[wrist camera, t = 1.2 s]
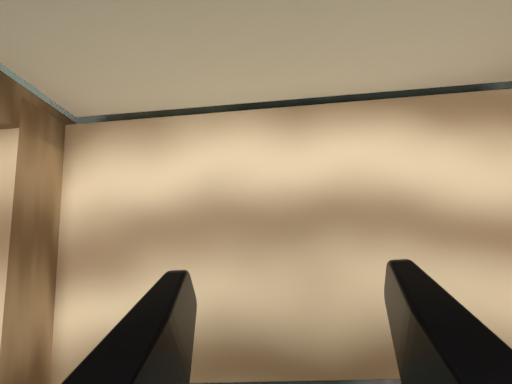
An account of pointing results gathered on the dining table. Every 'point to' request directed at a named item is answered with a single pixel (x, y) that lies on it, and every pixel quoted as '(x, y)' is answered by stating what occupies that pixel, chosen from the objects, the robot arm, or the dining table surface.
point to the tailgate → (248, 49)
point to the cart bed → (250, 228)
